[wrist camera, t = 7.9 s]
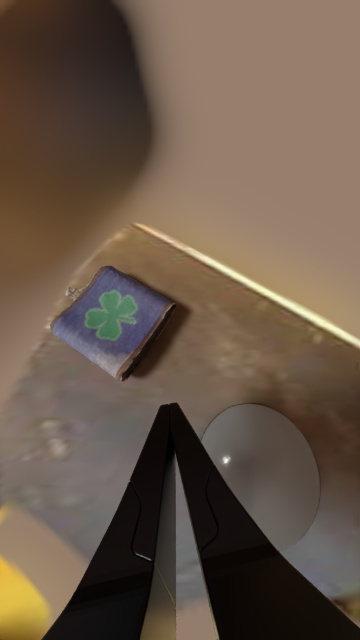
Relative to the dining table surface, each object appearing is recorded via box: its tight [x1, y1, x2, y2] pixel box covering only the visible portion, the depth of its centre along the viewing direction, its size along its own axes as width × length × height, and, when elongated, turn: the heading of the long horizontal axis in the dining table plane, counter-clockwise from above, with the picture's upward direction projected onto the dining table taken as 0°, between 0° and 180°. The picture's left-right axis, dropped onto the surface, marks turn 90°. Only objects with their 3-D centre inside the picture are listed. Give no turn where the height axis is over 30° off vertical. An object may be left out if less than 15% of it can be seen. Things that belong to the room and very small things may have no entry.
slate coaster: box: [201, 404, 320, 551], centre depth 16 cm, size 10×10×1 cm
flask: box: [50, 266, 176, 382], centre depth 19 cm, size 9×3×11 cm
